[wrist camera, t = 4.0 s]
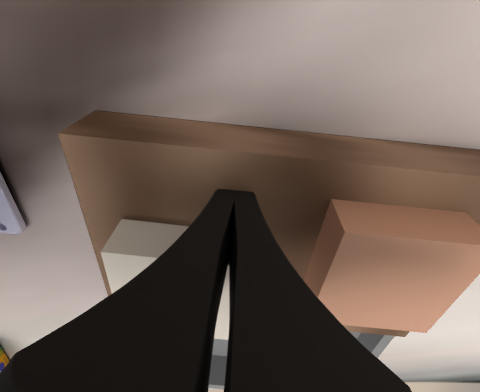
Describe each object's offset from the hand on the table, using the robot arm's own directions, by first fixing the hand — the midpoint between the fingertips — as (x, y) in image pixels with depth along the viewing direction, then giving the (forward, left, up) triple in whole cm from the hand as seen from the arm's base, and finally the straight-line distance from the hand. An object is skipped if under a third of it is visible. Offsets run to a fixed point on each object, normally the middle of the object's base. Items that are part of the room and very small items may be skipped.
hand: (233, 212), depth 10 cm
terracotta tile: (+6, -2, 0) cm, 6 cm away
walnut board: (+2, -3, -3) cm, 5 cm away
